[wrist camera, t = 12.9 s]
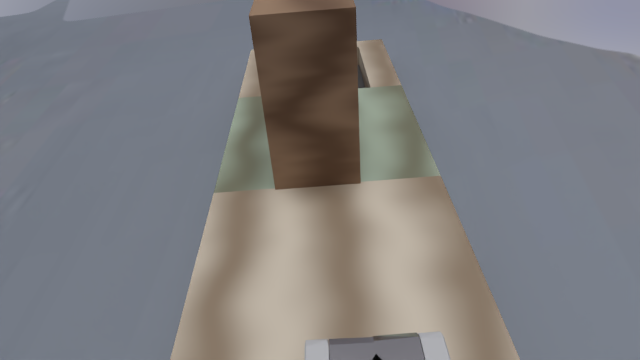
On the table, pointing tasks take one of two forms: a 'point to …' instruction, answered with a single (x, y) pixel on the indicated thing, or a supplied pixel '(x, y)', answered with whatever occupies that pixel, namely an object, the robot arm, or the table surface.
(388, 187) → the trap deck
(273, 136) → the walnut block
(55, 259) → the table surface
